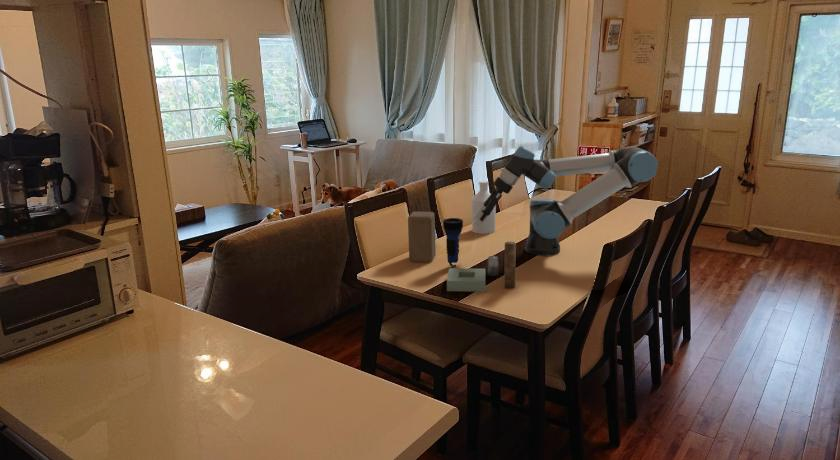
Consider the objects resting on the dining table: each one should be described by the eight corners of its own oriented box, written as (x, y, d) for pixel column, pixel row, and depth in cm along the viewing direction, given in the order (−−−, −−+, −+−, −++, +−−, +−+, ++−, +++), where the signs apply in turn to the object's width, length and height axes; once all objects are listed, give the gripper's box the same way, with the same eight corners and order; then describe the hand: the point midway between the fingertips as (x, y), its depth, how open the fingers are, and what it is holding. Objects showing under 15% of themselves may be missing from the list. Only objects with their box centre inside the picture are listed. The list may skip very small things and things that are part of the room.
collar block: (485, 278, 230) (485, 268, 229) (485, 291, 216) (485, 281, 215) (449, 278, 231) (449, 268, 230) (447, 291, 218) (446, 280, 217)
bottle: (479, 226, 305) (479, 178, 299) (500, 229, 298) (500, 180, 292) (467, 232, 296) (467, 182, 289) (488, 235, 289) (488, 184, 283)
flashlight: (460, 271, 239) (459, 223, 234) (441, 269, 242) (440, 222, 236) (465, 265, 246) (465, 218, 241) (447, 263, 249) (446, 217, 244)
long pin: (514, 285, 222) (515, 241, 217) (515, 288, 218) (516, 244, 214) (504, 285, 222) (504, 241, 218) (504, 288, 219) (504, 244, 214)
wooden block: (431, 263, 250) (430, 217, 245) (408, 262, 252) (407, 216, 247) (436, 255, 260) (435, 211, 254) (413, 255, 262) (412, 211, 256)
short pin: (498, 272, 236) (498, 255, 234) (498, 276, 232) (498, 259, 230) (488, 272, 236) (488, 255, 235) (488, 275, 233) (488, 258, 231)
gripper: (498, 171, 254) (470, 212, 260) (498, 180, 230) (468, 224, 235) (512, 181, 254) (484, 221, 260) (514, 191, 230) (483, 235, 236)
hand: (476, 223), depth 248 cm, fingers open, 13 cm apart
